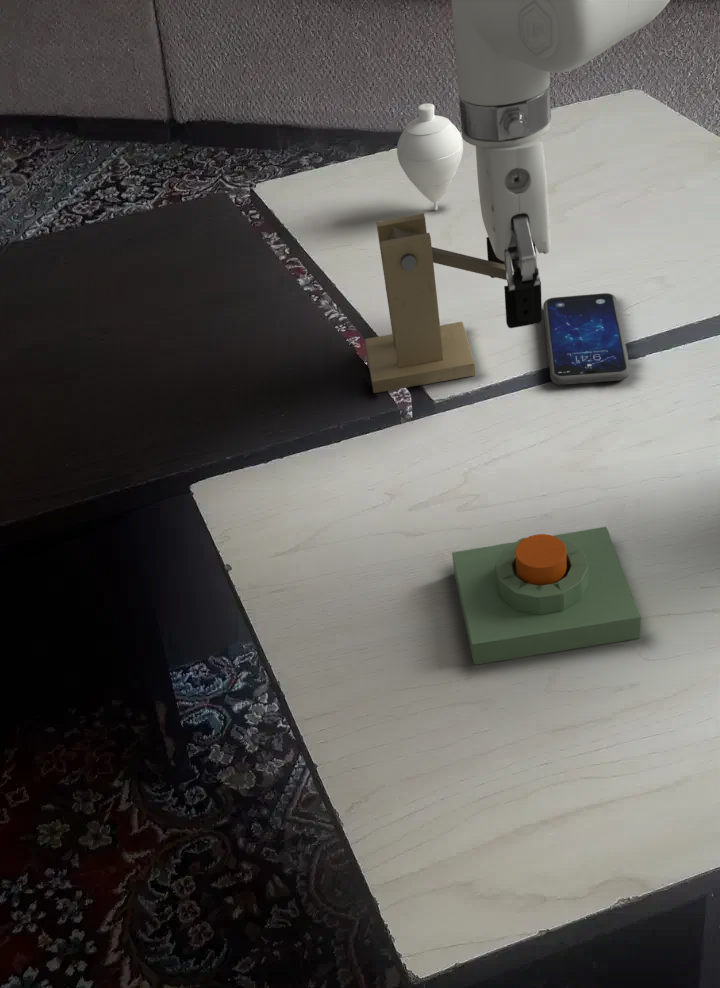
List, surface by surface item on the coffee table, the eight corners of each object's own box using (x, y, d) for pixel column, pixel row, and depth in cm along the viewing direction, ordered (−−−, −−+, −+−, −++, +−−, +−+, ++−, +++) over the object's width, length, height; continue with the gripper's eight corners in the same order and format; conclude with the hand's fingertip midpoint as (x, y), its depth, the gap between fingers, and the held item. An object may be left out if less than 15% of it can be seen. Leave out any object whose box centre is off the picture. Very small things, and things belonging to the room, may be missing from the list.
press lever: (513, 273, 102) (522, 250, 101) (525, 303, 98) (534, 280, 97) (383, 242, 99) (391, 217, 98) (390, 272, 95) (398, 247, 93)
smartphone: (616, 290, 107) (632, 373, 97) (615, 299, 108) (631, 382, 98) (541, 297, 108) (550, 379, 98) (542, 305, 109) (550, 388, 99)
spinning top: (395, 223, 127) (381, 119, 119) (417, 194, 132) (406, 92, 123) (455, 225, 124) (446, 119, 116) (476, 196, 129) (468, 92, 120)
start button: (560, 548, 78) (560, 530, 77) (571, 580, 76) (571, 562, 75) (512, 556, 79) (511, 538, 77) (521, 589, 76) (520, 571, 75)
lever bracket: (463, 333, 108) (451, 200, 98) (475, 375, 102) (464, 239, 92) (366, 350, 108) (345, 220, 98) (373, 393, 103) (351, 259, 93)
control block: (606, 547, 83) (606, 508, 80) (640, 638, 76) (642, 598, 73) (454, 573, 84) (449, 534, 81) (474, 665, 77) (469, 626, 74)
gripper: (572, 143, 83) (573, 338, 95) (529, 68, 95) (535, 250, 107) (477, 160, 83) (490, 352, 95) (446, 84, 95) (462, 263, 107)
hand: (514, 298), depth 101 cm, fingers open, 9 cm apart
